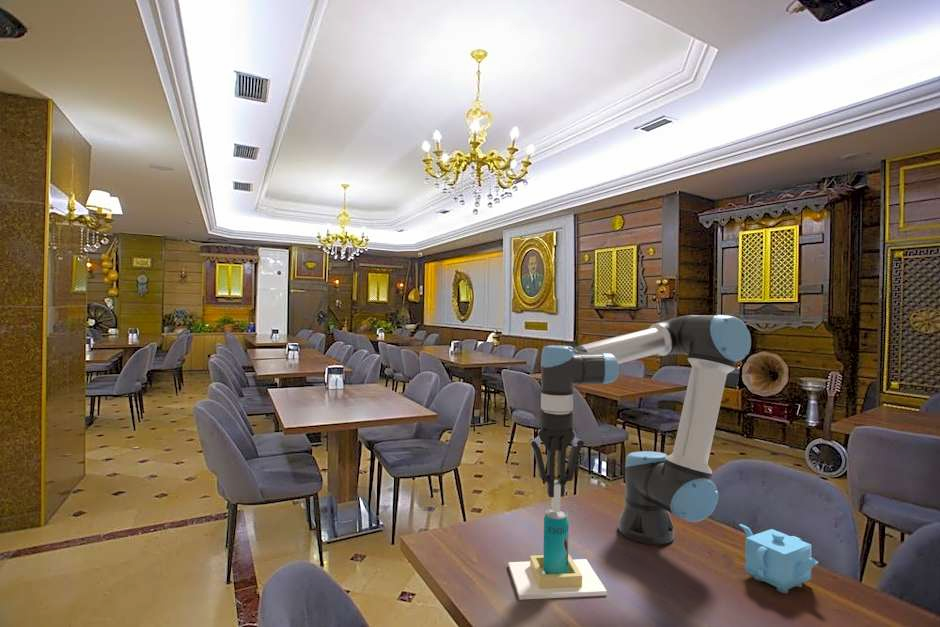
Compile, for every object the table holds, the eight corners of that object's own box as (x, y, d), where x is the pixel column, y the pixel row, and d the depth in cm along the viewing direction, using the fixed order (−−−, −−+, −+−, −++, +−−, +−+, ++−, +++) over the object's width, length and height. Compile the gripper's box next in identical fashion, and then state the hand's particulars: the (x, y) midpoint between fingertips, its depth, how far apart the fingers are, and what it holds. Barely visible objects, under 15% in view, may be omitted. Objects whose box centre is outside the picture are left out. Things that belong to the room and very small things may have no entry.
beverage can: (567, 584, 111) (568, 519, 111) (542, 580, 112) (543, 516, 112) (567, 570, 117) (568, 509, 117) (543, 568, 118) (544, 507, 118)
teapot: (796, 609, 104) (797, 557, 104) (719, 569, 120) (720, 524, 120) (835, 590, 111) (836, 541, 111) (758, 555, 127) (759, 512, 127)
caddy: (586, 562, 122) (586, 549, 122) (606, 595, 108) (607, 579, 108) (508, 566, 120) (508, 552, 120) (519, 599, 107) (519, 583, 107)
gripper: (578, 407, 119) (577, 502, 119) (526, 407, 117) (525, 504, 118) (588, 413, 111) (587, 515, 111) (533, 414, 110) (532, 517, 110)
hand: (555, 509), depth 114 cm, fingers closed
